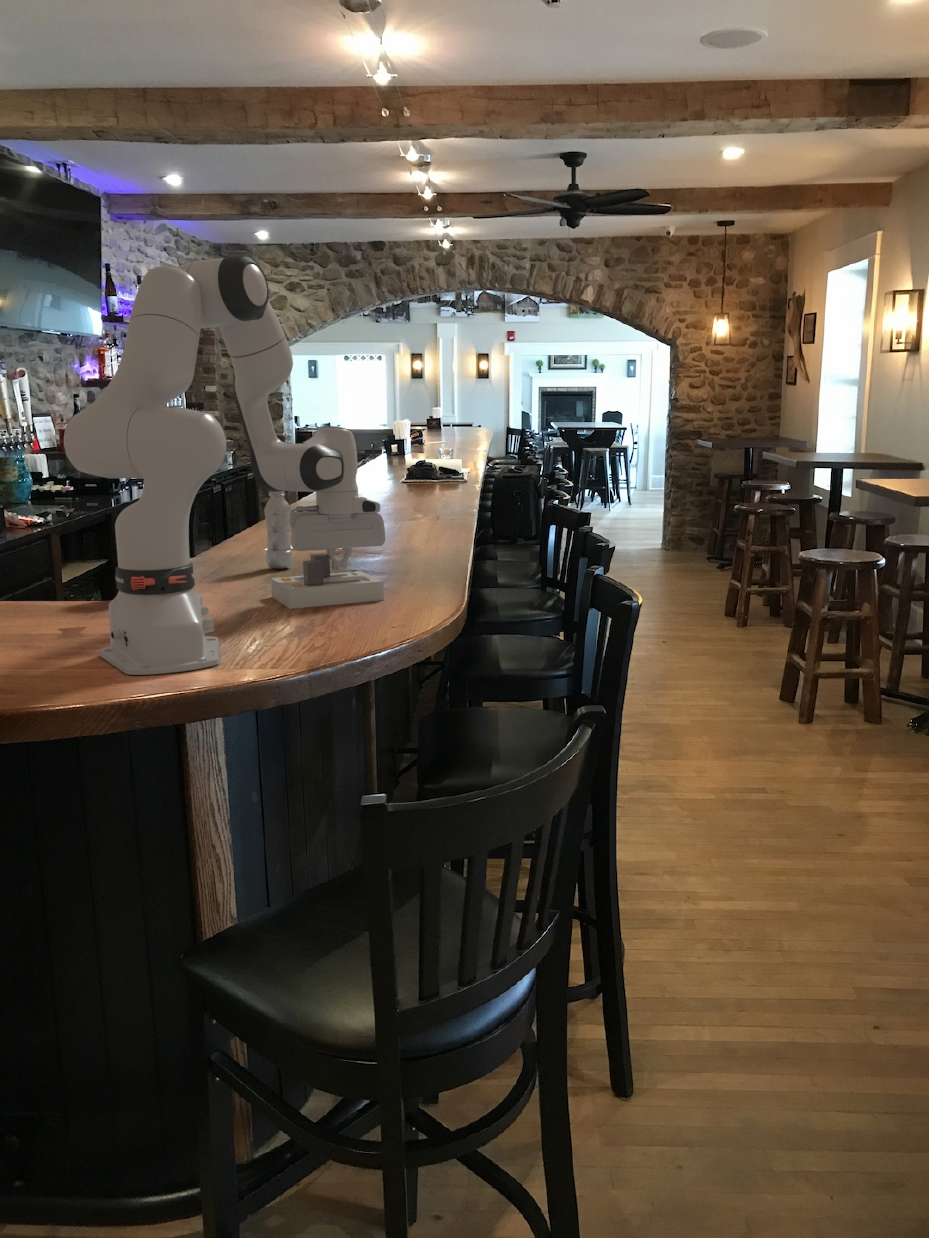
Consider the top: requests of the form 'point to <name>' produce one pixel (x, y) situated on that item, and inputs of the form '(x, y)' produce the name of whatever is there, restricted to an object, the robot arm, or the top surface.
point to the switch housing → (327, 590)
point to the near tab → (313, 572)
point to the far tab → (325, 560)
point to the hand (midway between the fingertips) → (339, 569)
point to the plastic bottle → (278, 531)
